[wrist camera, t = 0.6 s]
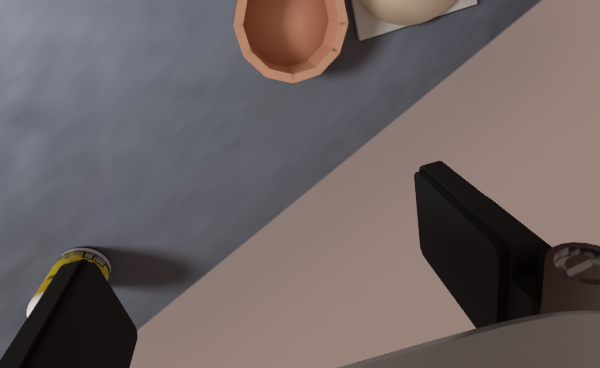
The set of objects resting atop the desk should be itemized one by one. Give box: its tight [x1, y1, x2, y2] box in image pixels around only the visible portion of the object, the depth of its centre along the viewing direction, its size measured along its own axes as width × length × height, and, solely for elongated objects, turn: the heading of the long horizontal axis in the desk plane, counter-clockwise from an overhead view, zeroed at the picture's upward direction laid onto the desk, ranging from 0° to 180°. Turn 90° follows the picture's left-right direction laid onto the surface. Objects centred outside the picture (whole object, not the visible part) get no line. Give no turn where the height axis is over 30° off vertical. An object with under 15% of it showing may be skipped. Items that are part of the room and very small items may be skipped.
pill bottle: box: [27, 248, 111, 318], centre depth 42 cm, size 6×6×11 cm
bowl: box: [233, 0, 348, 83], centre depth 36 cm, size 10×10×5 cm
